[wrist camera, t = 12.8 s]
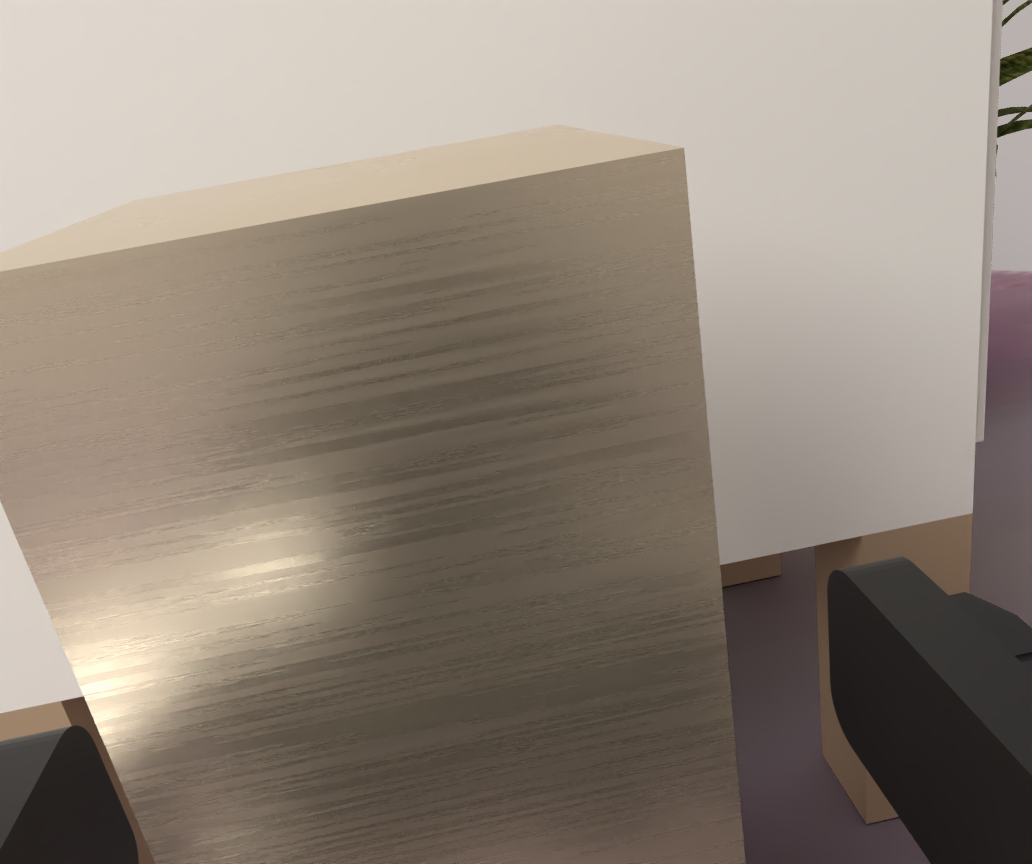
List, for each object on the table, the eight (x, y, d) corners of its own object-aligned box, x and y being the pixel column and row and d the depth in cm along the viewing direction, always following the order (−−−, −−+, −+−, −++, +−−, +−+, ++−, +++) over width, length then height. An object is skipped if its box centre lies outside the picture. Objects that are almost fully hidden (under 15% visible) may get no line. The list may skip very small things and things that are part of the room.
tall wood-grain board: (531, 546, 27) (452, 105, 22) (799, 1479, 9) (683, 148, 4) (420, 569, 27) (316, 129, 22) (457, 1570, 9) (-89, 288, 4)
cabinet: (788, 525, 26) (744, -368, 18) (1045, 814, 15) (1204, -994, 8) (185, 648, 25) (-137, -235, 17) (29, 1042, 15) (-968, -743, 7)
